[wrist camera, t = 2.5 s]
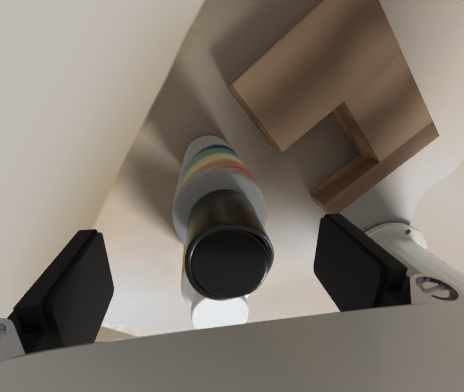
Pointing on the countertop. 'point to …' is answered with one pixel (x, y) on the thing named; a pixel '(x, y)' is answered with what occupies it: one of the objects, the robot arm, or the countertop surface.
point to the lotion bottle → (221, 221)
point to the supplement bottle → (212, 307)
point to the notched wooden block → (340, 94)
